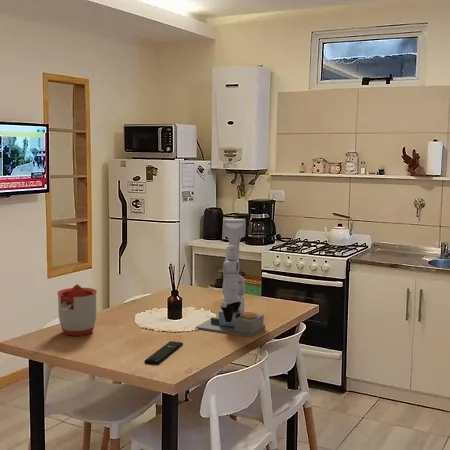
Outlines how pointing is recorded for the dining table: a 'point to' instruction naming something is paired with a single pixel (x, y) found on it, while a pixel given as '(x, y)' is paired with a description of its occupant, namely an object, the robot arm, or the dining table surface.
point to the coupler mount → (237, 324)
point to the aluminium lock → (234, 315)
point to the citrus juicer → (77, 310)
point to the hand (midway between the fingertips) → (230, 320)
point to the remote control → (163, 353)
